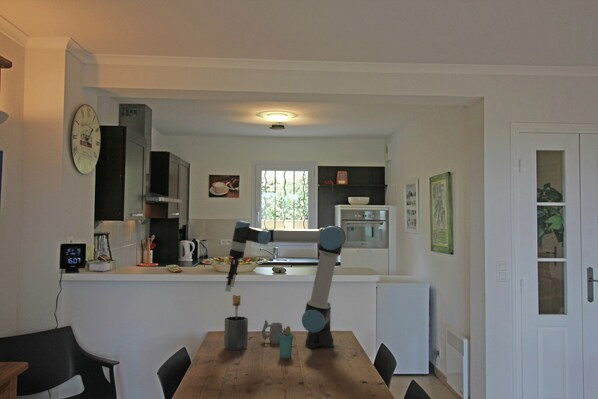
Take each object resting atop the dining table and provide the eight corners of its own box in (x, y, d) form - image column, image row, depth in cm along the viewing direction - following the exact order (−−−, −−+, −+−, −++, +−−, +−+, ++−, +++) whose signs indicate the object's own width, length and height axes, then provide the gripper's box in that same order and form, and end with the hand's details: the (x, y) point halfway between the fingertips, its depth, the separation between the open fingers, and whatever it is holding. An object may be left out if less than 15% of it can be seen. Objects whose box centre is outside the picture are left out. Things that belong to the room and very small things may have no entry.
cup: (291, 362, 218) (291, 329, 219) (275, 361, 219) (275, 329, 219) (294, 353, 232) (295, 323, 233) (279, 353, 233) (279, 322, 233)
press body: (250, 348, 240) (250, 319, 241) (229, 351, 235) (230, 321, 235) (238, 342, 253) (239, 314, 254) (219, 344, 247) (219, 316, 248)
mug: (284, 343, 251) (284, 321, 252) (262, 344, 250) (262, 321, 250) (282, 340, 259) (282, 318, 260) (261, 340, 257) (261, 318, 258)
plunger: (244, 329, 242) (244, 295, 242) (232, 330, 238) (233, 296, 239) (239, 327, 247) (239, 294, 248) (228, 328, 244) (228, 295, 245)
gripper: (233, 246, 260) (225, 283, 259) (227, 250, 235) (218, 291, 235) (246, 248, 260) (238, 285, 260) (242, 253, 235) (233, 294, 235)
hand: (229, 288), depth 247 cm, fingers open, 13 cm apart
